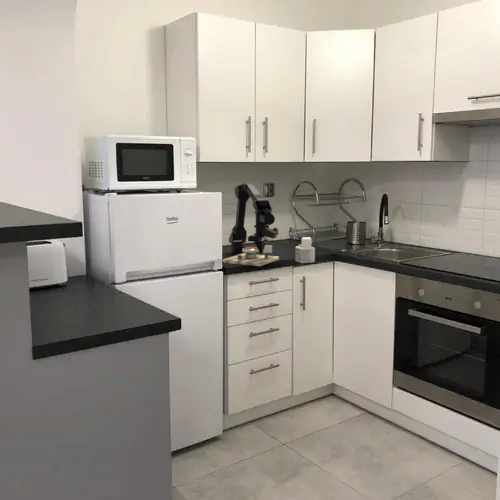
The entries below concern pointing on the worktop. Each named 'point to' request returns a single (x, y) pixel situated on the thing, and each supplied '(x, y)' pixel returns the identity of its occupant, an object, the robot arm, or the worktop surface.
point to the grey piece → (254, 250)
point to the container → (305, 251)
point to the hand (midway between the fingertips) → (261, 253)
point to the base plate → (251, 259)
